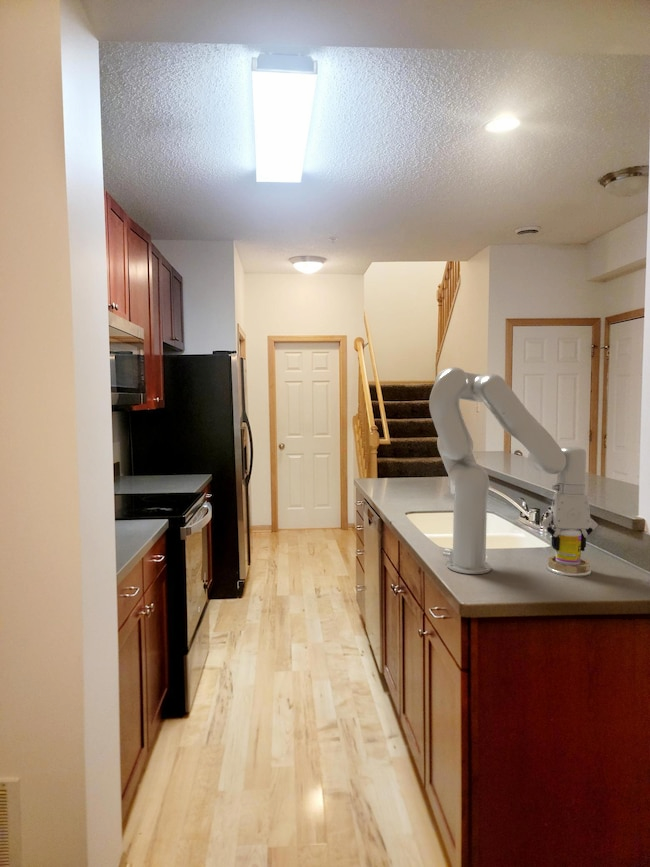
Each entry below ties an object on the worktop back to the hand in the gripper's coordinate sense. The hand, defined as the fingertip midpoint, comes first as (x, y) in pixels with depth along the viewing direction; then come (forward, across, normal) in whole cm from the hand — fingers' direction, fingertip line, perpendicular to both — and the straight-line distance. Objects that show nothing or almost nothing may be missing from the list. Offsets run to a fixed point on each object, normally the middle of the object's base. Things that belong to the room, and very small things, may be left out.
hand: (568, 549), depth 161 cm
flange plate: (+6, 0, 0) cm, 6 cm away
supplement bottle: (+4, 0, 0) cm, 4 cm away
